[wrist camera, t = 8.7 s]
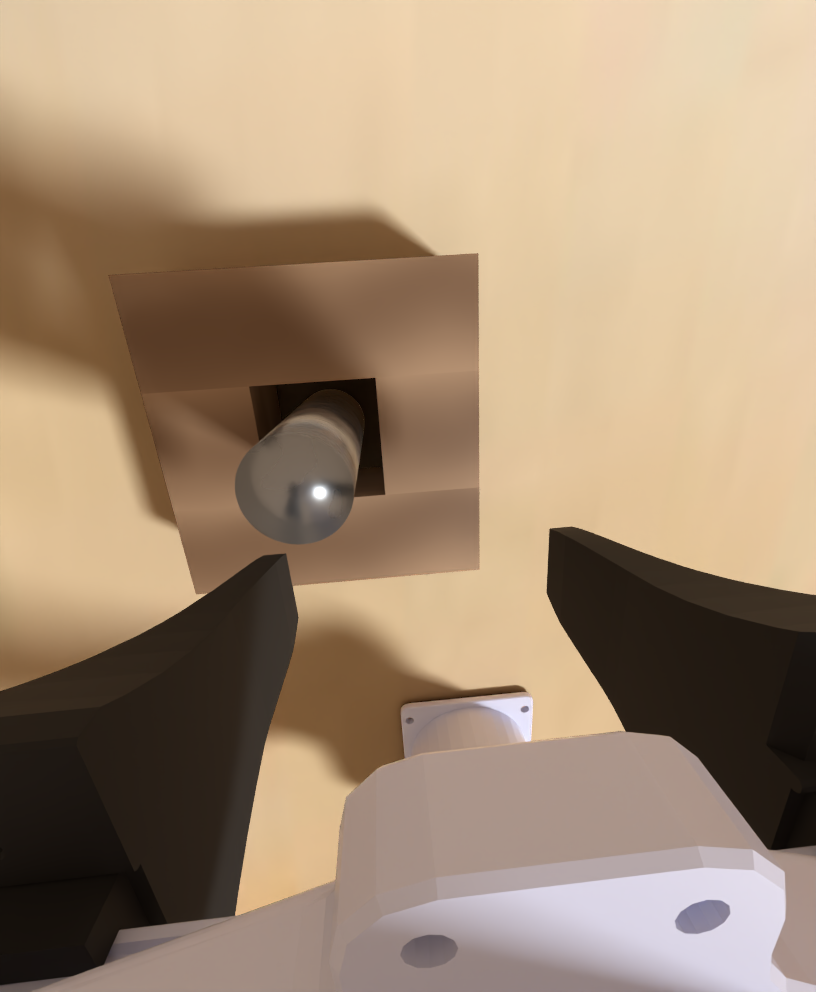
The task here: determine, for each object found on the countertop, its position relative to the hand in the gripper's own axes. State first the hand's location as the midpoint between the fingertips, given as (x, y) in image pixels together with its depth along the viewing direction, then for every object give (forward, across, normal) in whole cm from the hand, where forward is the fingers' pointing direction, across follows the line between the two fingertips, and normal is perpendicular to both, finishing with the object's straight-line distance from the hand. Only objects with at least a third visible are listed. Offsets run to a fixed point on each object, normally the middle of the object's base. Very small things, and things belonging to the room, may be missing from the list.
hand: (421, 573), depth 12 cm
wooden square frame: (+10, +3, -3) cm, 11 cm away
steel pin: (+10, +3, -3) cm, 11 cm away
